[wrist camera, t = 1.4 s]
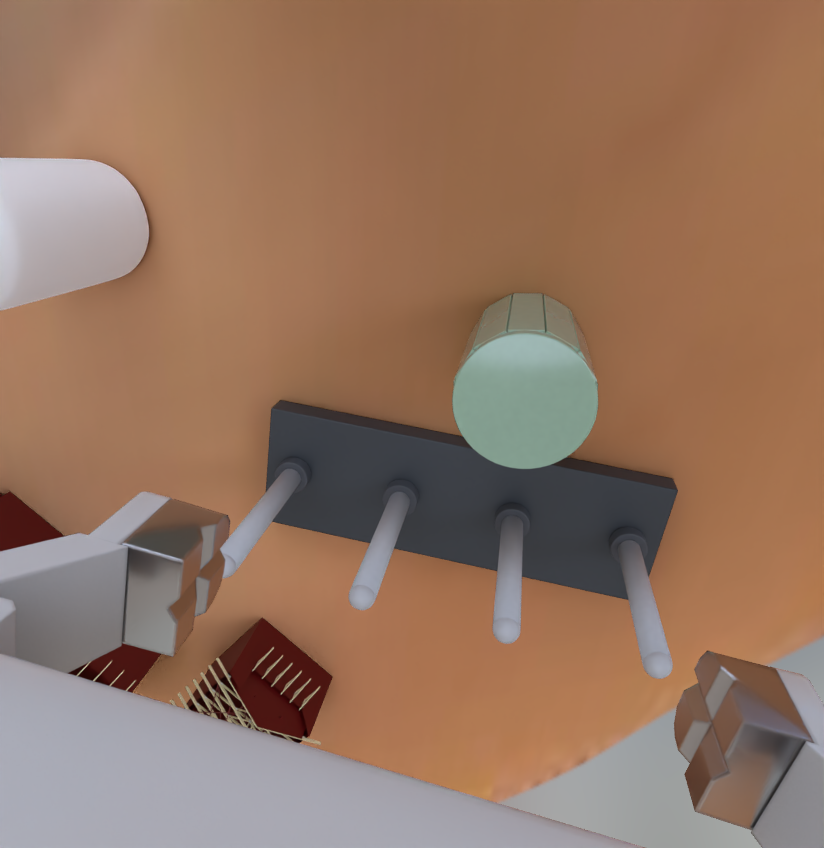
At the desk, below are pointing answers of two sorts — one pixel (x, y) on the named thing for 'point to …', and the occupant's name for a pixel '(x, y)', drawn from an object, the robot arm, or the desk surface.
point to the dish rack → (464, 513)
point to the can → (65, 227)
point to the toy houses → (226, 678)
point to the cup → (525, 383)
